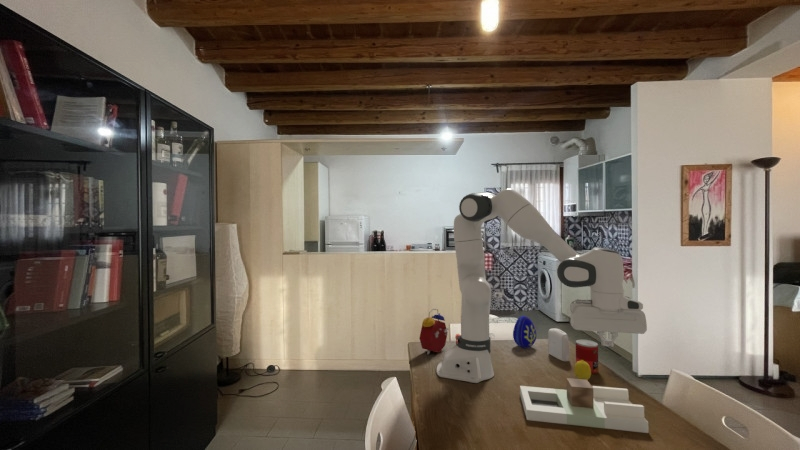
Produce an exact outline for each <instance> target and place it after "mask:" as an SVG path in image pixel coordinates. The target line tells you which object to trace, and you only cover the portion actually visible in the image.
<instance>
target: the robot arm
mask: <svg viewBox="0 0 800 450" xmlns="http://www.w3.org/2000/svg"><path fill="white" fill-rule="evenodd" d="M458 211H459V213H458V214H457V215H456V216H455V217H454V220H453V240H454V249H455V257H456V265H457V276H458V284H459V291H460V293H461V309H460V310H461V311H460V334H459V333H457V334H456V335H455V345H454V346H452V347H451V348H449V349H447V350H446V351H445V352H444V354H443V356H442V360H441V361H440V362H439V363H438V364H437V366H436V374H437V376H438V377H440V378H445V379H450V380H456V381H463V382H468V383H474V384H478V383H480V382H482V381H486V380H490V379H492V378H493V377H494V376H495V372H494V368H493V364H492V363H493V362H492V358H491V353H492V352H491V350H492V340H491V337H490V315H491V302H492V287H491V285H490V283H489V282H488V281H487V279H486V268H485V267H486V264H485V263H486V258H485V257H486V256H485V251H484V241H483V235H482V226H483V224H484V223H489V222H491V221H494V220H495V219H497V218H501V220H502V221H503V222H504V223H505V225H506V226H507V227H509V229H511V231H513V232H514V233H515V234H517V235H518V236H519V237H521V238H522V239H525V240H529V241H532V242H535V243H537V244H539V245H541V246H543V247H544V248H545V249H546V250H547V251H548V252H549V253H550V254H551V255H553V257H555V259H557V260H558V261H559V262H560V263H559V264H558V265H557V268H556V275H557V278H558V279H559V282H561V283H562V284H563V285H564V286H566V287H569V288H575V289H577V288H583V287H589V288H590V289H589V290H590V299H579V298H578V299H575V300H573V301H571V302H570V307H569V308H570V312H571V315H570V325H571V327H572V328H573V329H574V331H575V330H576V331H587V332H588V331H589V332H596V333H597V335H598V336H599V338H600V342H601V343H600V344H601V346H602V347H613V348H614V346H615V345H614V344H615V341H616V339H617V338H618V337H619V334H620V333H621V334H622V333H623V334H641V335H644V334H646V332H647V330H648V326H647V324H648V323H647V319H646V318H647V317H646V313H645V312H644V311H643V309H644V304H643V303H642V302H641V301H638V300H636V299H634V298H631V297H629V296H625V290H624V288H623V283H624V280H625V279H624V278H625V275H624V274H625V273H624V272H625V271H624V261H623V257H622V255H621V254H620V253H619V252H618V251H617V250H615V249H610V248H607V247H599V246H597V247H592V249H590V250H588V251H586V252H583V253H580V252H578V251H577V250H575V249H574V248H573V247H572V246H571V245H570V244H569V243H567V241H565V240H564V239H563V238H562V237H561V236H560V235H559V234H558V233H557V232H556V231H555V230H554V229H553V227H552V226H551V225H550V224H549V222H548V221H547V220H546V218H544V216H543V215H542V213H541V212H540V211H539V210H538V209H537V208H536V206H535V205H533V204H532V203H531V201H529V200H528V199H527V198H526V197H524V196H523V195H521V193H519V192H518V191H516V190H515V189H513V188H504V189H501V190H500V191H499V192H498V193H495V192H487V191H482V192H473V193H469V194H466V195H465V196H463V197H462V199H461V200H460V202H459V205H458ZM605 333H610V337H609V338H605V337H604V335H605Z"/></svg>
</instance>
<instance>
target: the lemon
mask: <svg viewBox="0 0 800 450" xmlns="http://www.w3.org/2000/svg"><path fill="white" fill-rule="evenodd" d="M573 370H574V371H573V372H574V375H575V377H576V379H584V380H590V378H591V376H592V374H591V369H590V366H589V364H588V363H586V362H585V361H583V360H581V361H578V362H577V363H576V362H575V364H574V369H573Z"/></svg>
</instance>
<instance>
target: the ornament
mask: <svg viewBox="0 0 800 450" xmlns="http://www.w3.org/2000/svg"><path fill="white" fill-rule="evenodd" d="M512 330H513V331H512V339H513V341H514V343H515V344H516V345H517V346H519V347H520V348H522V349H529V348H531V347H533V345H534V344H535V342H536V341H537V330H536V327H535V325H534V322H533V321H532V320H531V319H530V318H529V317H528V316H526V315H520V316H519V317H517V320H516V322H515V323H514V327H513V329H512Z"/></svg>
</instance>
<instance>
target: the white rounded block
mask: <svg viewBox="0 0 800 450" xmlns="http://www.w3.org/2000/svg"><path fill="white" fill-rule="evenodd" d="M547 345H548V354H549V355H551V356H552V357H553V358H556V359H558V360H559V361H562V362H569V361H570V337H569V335H568V334H567V333H566V332H565V331H563V330H561V328H556V327H555V328H550V329H549V330H548V332H547Z"/></svg>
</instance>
